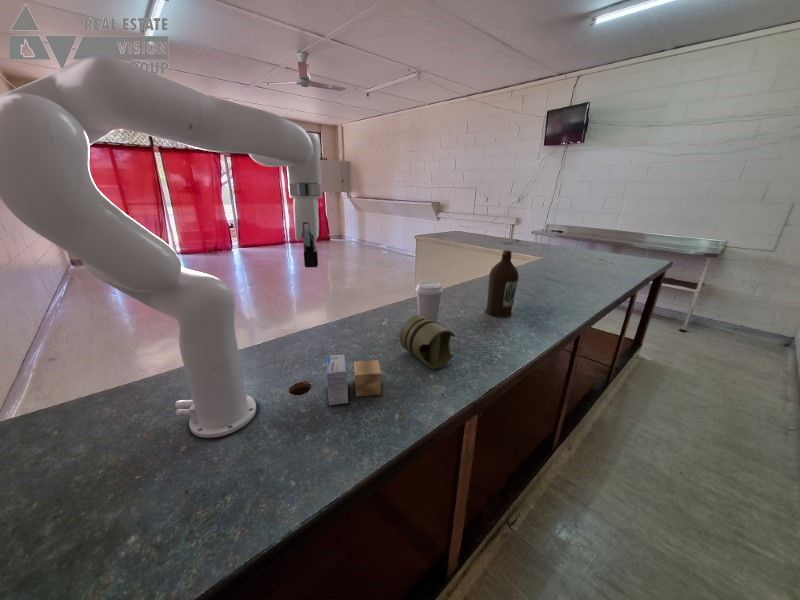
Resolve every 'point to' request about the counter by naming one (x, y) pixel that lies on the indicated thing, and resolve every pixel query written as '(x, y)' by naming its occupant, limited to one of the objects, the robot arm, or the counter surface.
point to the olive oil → (502, 287)
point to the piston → (427, 341)
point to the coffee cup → (429, 299)
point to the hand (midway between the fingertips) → (311, 266)
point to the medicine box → (337, 379)
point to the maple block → (367, 378)
